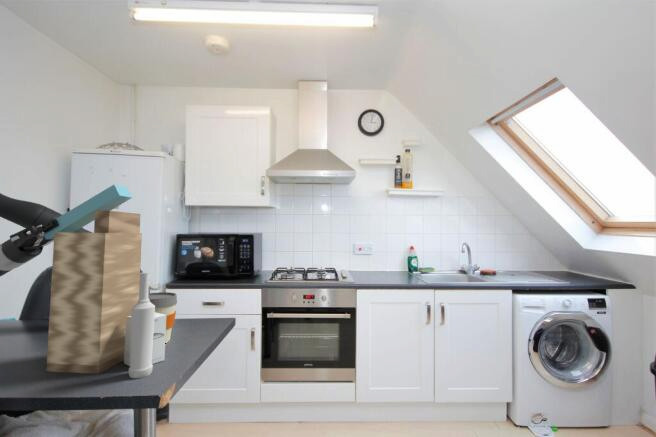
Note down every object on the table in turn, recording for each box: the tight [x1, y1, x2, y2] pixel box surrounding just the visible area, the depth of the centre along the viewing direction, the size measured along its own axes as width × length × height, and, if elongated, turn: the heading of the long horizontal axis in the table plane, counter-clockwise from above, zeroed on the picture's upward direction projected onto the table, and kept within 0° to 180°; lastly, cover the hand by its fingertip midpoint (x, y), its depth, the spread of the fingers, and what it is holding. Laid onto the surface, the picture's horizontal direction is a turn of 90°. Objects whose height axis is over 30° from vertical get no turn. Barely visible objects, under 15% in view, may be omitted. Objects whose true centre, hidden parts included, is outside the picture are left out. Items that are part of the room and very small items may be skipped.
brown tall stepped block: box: [45, 210, 143, 375], centre depth 88 cm, size 14×14×41 cm
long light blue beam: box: [44, 184, 133, 239], centre depth 89 cm, size 22×5×15 cm, turn 86°
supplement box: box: [123, 312, 166, 367], centre depth 87 cm, size 7×7×13 cm
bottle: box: [128, 272, 155, 379], centre depth 80 cm, size 5×5×25 cm
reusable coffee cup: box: [148, 291, 178, 344], centre depth 102 cm, size 13×13×15 cm
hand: (65, 222), depth 89 cm, fingers closed on long light blue beam, 5 cm apart
